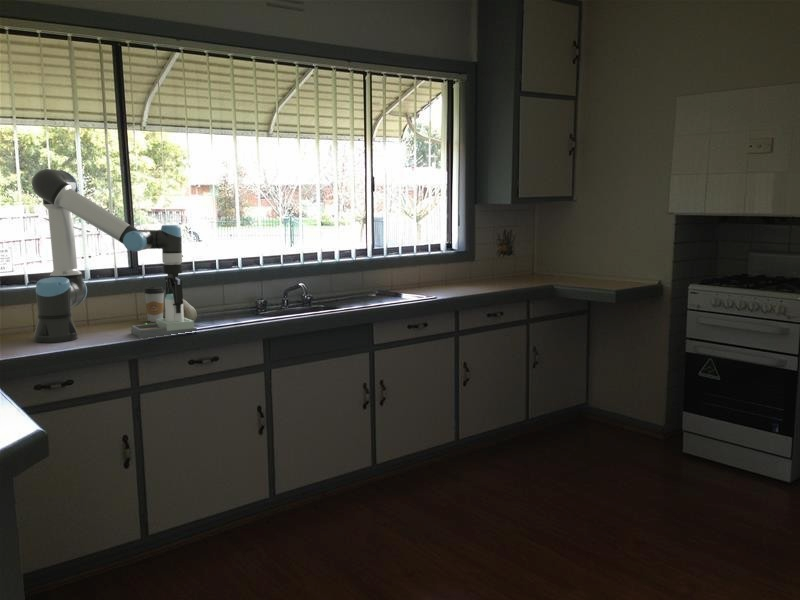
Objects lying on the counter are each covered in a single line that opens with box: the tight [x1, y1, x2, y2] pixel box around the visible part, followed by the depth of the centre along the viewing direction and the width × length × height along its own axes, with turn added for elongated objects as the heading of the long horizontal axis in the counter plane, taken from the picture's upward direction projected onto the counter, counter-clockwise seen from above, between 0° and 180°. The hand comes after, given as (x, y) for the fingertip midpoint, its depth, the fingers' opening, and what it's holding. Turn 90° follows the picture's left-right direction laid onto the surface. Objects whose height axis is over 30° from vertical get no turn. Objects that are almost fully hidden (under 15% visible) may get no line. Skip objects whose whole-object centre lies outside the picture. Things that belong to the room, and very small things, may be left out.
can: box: [164, 294, 184, 323], centre depth 286 cm, size 7×7×12 cm
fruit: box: [183, 298, 198, 322], centre depth 304 cm, size 10×9×12 cm
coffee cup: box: [144, 286, 165, 323], centre depth 315 cm, size 8×8×15 cm
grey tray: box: [130, 317, 198, 339], centre depth 284 cm, size 22×14×5 cm, turn 126°
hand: (174, 319), depth 287 cm, fingers closed on can, 7 cm apart
